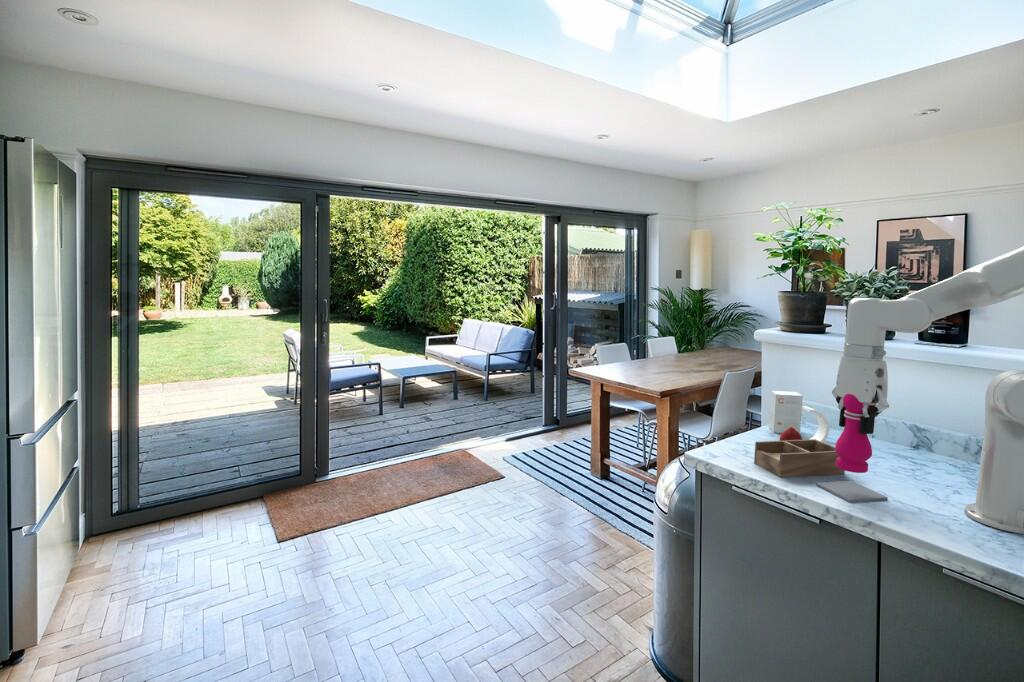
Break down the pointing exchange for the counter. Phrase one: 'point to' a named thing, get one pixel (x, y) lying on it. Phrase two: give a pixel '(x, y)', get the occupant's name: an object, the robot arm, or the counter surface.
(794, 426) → the small box
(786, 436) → the onion
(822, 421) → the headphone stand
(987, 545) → the counter surface
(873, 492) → the mat
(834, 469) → the box
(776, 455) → the upper offcut
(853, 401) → the pepper mill
